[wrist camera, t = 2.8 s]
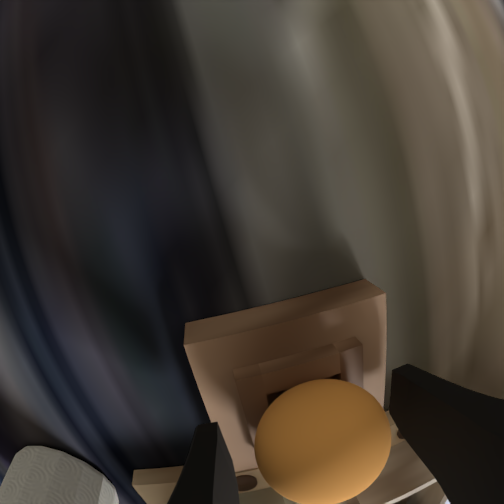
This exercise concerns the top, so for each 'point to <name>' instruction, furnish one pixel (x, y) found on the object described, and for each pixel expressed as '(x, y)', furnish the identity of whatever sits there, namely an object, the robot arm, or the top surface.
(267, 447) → the ball orange
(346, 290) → the stand
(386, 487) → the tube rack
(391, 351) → the top surface
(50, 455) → the paper towel roll
